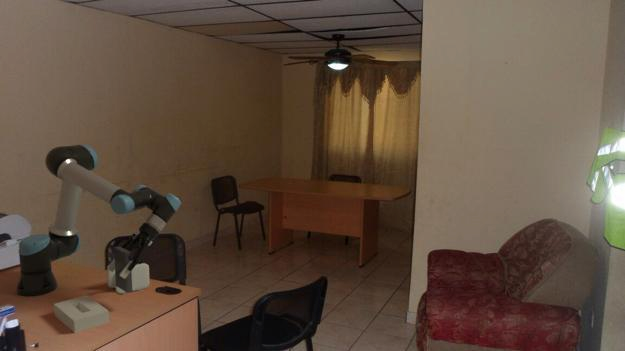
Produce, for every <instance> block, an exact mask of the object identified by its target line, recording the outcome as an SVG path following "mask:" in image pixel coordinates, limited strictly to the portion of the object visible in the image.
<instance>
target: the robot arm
mask: <svg viewBox="0 0 625 351" xmlns="http://www.w3.org/2000/svg"><path fill="white" fill-rule="evenodd" d="M97 155H98V154H97V153H96V152H95V150H94V149H93V148H92V147H91V146H89V145H87V144H75V145H66V146H57V147H54V148H52V149H51V150H50V151H48V153H47V154H46V155H45V161H44V162H45V163H44V164H45V166H46V168H47V171H48V172H50V173H51V175H53V176H54V177H56V178H57V179H59V180H62V181H61V186H60V190H59V197H58V202H57V208H56V214H55V216H54V217H55V219H54V222H53V223H54V224H52V225H51V226H50V227H49V230H48V234H46V233H39V234H35V235H33V234H32V235H29V236H27V237H24V238H23V239H21V240H20V241H19V244H18V256H19V268H20V269H19V270H20V276H19V279H18V282H17V285H16V293H17V294H18V295H19V296H24V297H33V296H41V295H44V294H47V293H51V292H53V291H54V290H56V289H57V288H58V282H57V279H56V277H55V275H54V272H53V270H52V262H54V261H57V260H60V259H63V258H65V257H70V256H71V255H73V254H76V253H77V251H79V250H80V247H81V245H82V238H81V234H80V233H79V231H78V229H77V228H76V223H77V218H78V214H79V208H80V203H81V198H82V195H83V194H82V193H83V190H84V191H86V192H88V193H89V194H91V195H93V196H94V197H96V198H99V199H101V200H102V201H104V202H105V203H108V204H109V205H110V208H111V210H112V211H113V213H115V214H117V215H126V214H130V213H133V212H135V211H139V210H143V209H145V208H146V209H149V210H151V211H152V212H151V213H150V214H149V216H148V217H147V218H146V219H145V220H144V222H143V223H142V224H141V225H140V226H139V228H138V231H139V233H137V234H135V233H132V235H131V236H130V237H129V238H128V239H127V240H126V241H125V242H124V243H122V245H121V246H120V247H122V248H124V249H126V250H128V251H130V252H132V251H133V250H134V249H136V250H135V252H134V255H133V257H132V258H131V261H130V262H129V263H128V264H127V265H126V267H125V268H124V269H123V270H122V272H121V273H120V274H119V275H120V276H121V277H122V278H124V279H125V278H126V277H127V276H128V274H129V273H130V272H131V271H132V269H133V268H134V267H135V266H136V265H138V264H143V262H144V260H145V258H146V256H147V255H148V253H149V251H150V249H151V247H152V246H154V242H153V241H154V240H155V239H156V238H157V237H158V235H159V233H160V232H161V231H162V230H163V229H164V228H165V226H166V225H167V224H168V222H170V220H171V218H172V217H173V216H174V215H175V214H176V212H177V211H178V210H179V208H180V207H181V205H182V202H181V200H180V199H179V198H178V197H177V196H176V195H174V194H172V193H169V192H168V193H166V194H165V195H163V194H160V193H159V192H157V191H156V190H154V189H152V188H150V187H149V186H147V185H144V184H139V185H137V186H136V187H135V188H134V189H133V190H132V192H128V191H127V190H124V189H123V188H122V187H119V186H117V185H116V184H114V183H113V182H110V181H109V180H107V179H104V178H103V177H101V176H99V175H98V174H96V173H94V172H92V171H93V170H94V169H95V168H96V167H97V165H98V162H99V160H98V156H97ZM107 269H109V270H110V271H112V272H113V271H114V270H115V258H113V260H112V261H111V262H110V263H109V264H108V265H107V267H106V270H107Z"/></svg>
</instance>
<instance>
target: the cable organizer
mask: <svg viewBox="0 0 625 351" xmlns="http://www.w3.org/2000/svg"><path fill="white" fill-rule="evenodd" d="M149 266H150V265H149V264H147V263H145V262H144V263H143V262H142V264H138V265H136V266H135V267H134V268H133V269H132V292H134V291H137V290H138V291H141V290H142V289H143V290H146V288H148V287H149V286H150V267H149ZM106 274H107V286H108V288H110V289H115V292H117V293H118V294H122V295H125V294H129V293H130V292H128V293H127V292H125V291H124V290H122V289H120V288H119V287H117V286H116V277H115V270H114V271H113V272H112V271H110V270H109V269H107V268H106ZM143 290H142V291H143Z"/></svg>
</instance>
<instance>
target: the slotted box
mask: <svg viewBox="0 0 625 351" xmlns="http://www.w3.org/2000/svg"><path fill="white" fill-rule="evenodd" d="M53 310H54V316H55V317H56V318H57V319H58V320H59V321H60V322H61V323H63V324H64V325H65V326H66V327H67V328H68V329H70V330H71V331H72V332H73V333H74V334H76V333H80V332H84V331H87V330H89V329H92V328H95V327H99V326H103V325H105V324H108V323H110V312H109V310H108V309H107V308H106V307H104V306H103V305H101V303H98V301H95V300H94V299H93V298H91V297H90V296H88V295H83V296H80V297H74V298H72V299H71V298H70V299H67V300H63V301H60V302H57V303H53Z"/></svg>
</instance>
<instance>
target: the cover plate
mask: <svg viewBox="0 0 625 351" xmlns="http://www.w3.org/2000/svg"><path fill="white" fill-rule="evenodd" d="M113 249H114V251H113V253H114V254H113V255H114V259H115V277H116V286H117V287H119V288H120V289H122V290H124V291H125V292H127V293H126V294H129V293H132V292H133V291H132V271H131V272H130V273H129V274H128V276H127V277H126V278H125V279H124V278H122V277H121V276H120V275H119V274H120V273H121V272H122V270H123V269H124V268H125V267H126V265H127V264H128V263H129V262H130V261H131V259H132V251H128V250H126V249H124V248H122V247H121V246H115V247H114V248H113ZM128 292H129V293H128Z"/></svg>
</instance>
